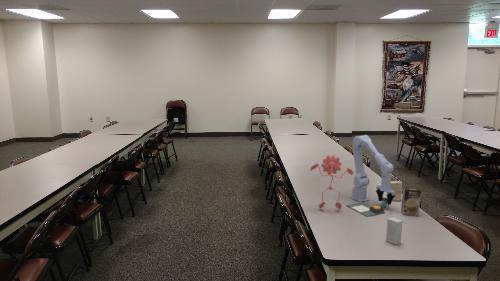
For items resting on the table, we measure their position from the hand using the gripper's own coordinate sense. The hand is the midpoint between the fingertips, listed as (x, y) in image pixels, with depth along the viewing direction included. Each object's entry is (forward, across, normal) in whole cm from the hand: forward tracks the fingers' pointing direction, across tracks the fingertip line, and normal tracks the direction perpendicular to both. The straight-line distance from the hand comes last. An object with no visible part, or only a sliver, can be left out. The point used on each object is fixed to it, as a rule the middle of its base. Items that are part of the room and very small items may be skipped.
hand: (384, 202), depth 235 cm
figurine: (+3, -12, -34) cm, 36 cm away
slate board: (+3, -2, -14) cm, 15 cm away
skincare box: (+4, +39, -31) cm, 50 cm away
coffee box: (+4, +14, +7) cm, 16 cm away
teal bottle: (+3, 0, 0) cm, 3 cm away
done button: (+1, +4, -10) cm, 11 cm away
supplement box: (+3, -8, +16) cm, 18 cm away
